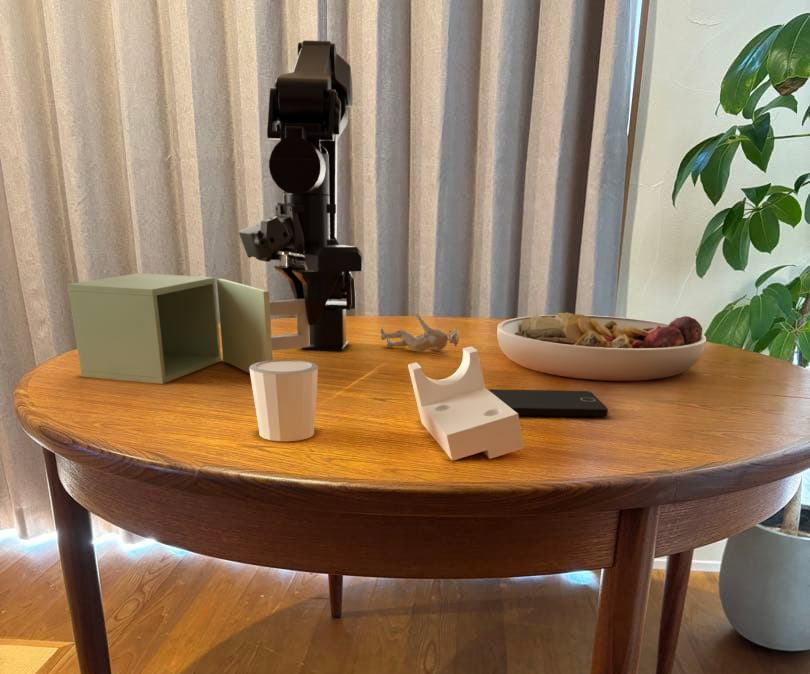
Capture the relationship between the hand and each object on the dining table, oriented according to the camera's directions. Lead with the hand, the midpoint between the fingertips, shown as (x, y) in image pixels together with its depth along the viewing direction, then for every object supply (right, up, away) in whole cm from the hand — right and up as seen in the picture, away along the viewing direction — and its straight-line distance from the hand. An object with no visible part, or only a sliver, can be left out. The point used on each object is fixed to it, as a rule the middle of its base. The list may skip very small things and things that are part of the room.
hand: (309, 323), depth 101 cm
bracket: (+18, -18, -23) cm, 35 cm away
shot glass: (0, -18, -22) cm, 28 cm away
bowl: (+41, -2, +14) cm, 44 cm away
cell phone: (+27, -13, -10) cm, 32 cm away
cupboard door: (-6, -5, +5) cm, 10 cm away
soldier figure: (+15, +1, +20) cm, 25 cm away
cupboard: (-22, -5, +4) cm, 23 cm away
